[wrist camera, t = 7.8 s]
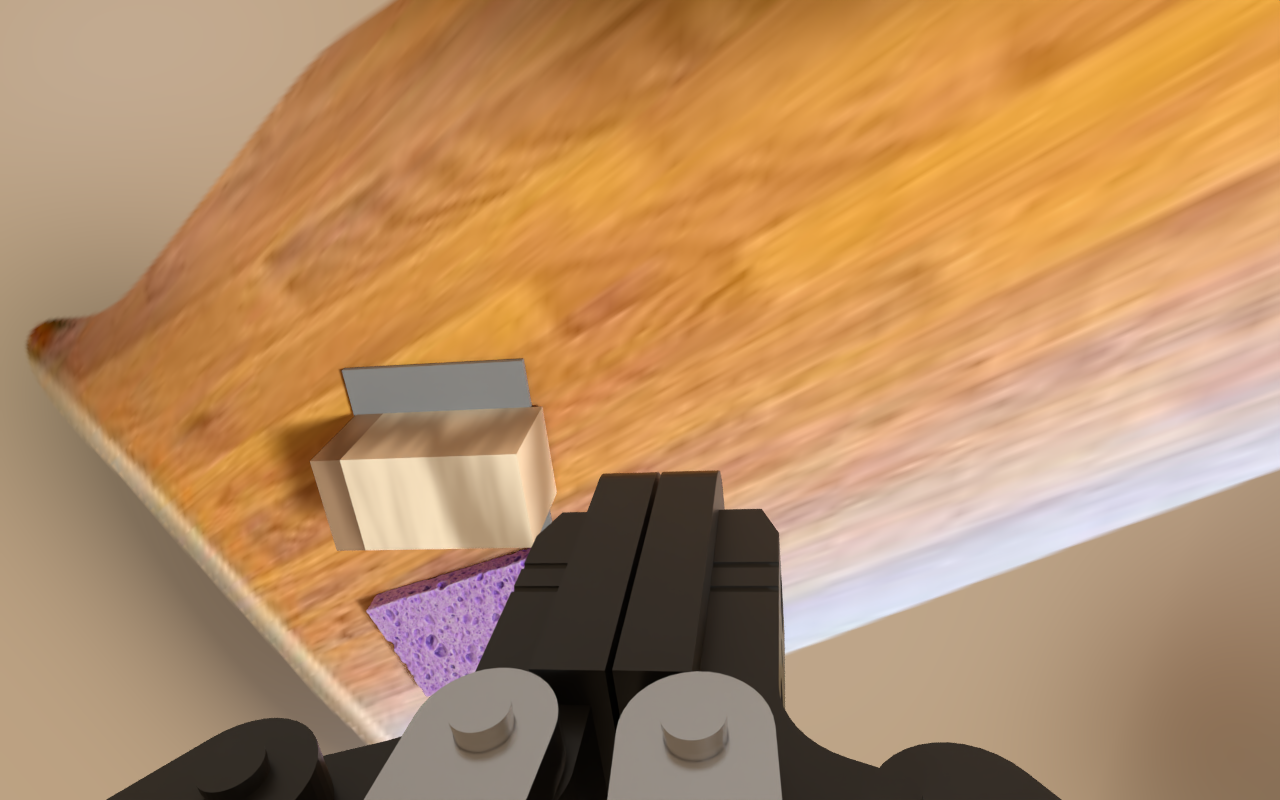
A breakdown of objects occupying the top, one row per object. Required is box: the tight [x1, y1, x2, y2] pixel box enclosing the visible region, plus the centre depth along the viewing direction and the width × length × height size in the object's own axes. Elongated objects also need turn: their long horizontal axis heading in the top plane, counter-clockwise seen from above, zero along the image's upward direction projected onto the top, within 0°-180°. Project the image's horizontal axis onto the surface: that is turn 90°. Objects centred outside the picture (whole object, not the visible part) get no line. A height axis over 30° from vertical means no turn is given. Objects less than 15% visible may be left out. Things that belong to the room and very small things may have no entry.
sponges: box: [366, 548, 531, 697], centre depth 48 cm, size 7×13×2 cm, turn 114°
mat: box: [342, 359, 552, 533], centre depth 44 cm, size 10×10×1 cm
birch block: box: [310, 407, 557, 551], centre depth 41 cm, size 5×5×10 cm
